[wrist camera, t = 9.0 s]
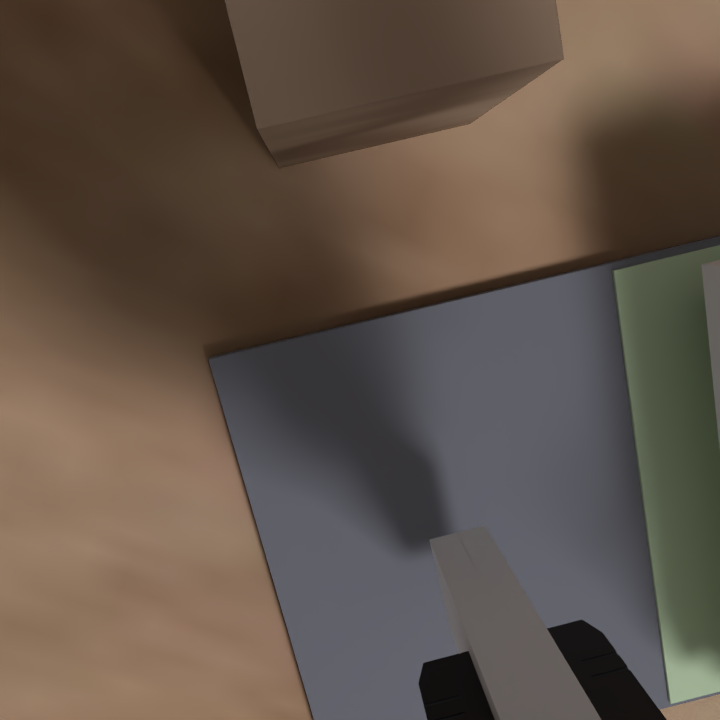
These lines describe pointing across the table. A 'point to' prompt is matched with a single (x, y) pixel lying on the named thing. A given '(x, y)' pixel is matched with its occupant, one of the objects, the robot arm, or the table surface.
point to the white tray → (713, 325)
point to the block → (383, 67)
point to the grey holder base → (492, 474)
